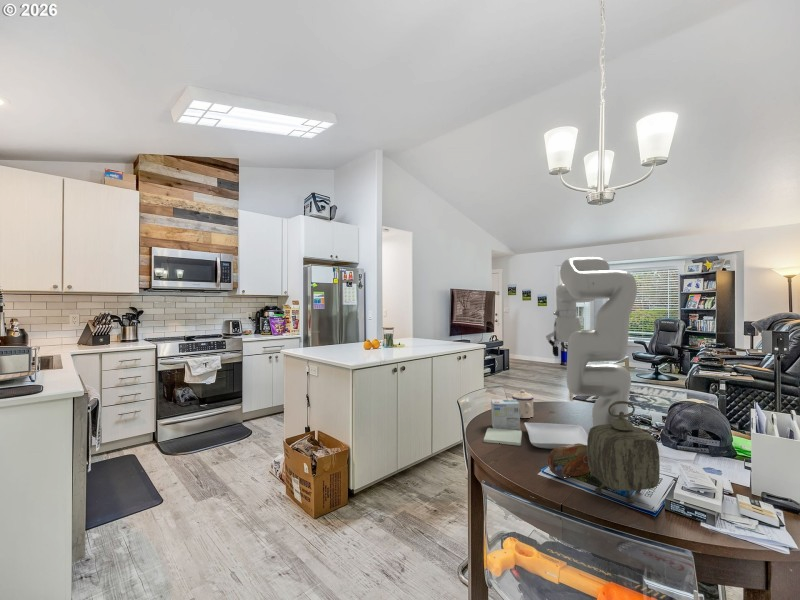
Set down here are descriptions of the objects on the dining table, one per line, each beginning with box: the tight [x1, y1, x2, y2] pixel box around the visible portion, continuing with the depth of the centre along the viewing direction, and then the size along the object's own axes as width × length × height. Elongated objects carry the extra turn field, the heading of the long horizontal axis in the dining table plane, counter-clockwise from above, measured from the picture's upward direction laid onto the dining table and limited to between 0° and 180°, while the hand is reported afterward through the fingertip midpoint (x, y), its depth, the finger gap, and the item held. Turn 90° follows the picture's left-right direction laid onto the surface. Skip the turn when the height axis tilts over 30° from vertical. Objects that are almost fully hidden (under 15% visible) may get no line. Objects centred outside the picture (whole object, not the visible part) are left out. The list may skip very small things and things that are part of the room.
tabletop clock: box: [587, 401, 661, 504], centre depth 97 cm, size 14×9×25 cm, turn 92°
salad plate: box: [523, 422, 588, 450], centre depth 137 cm, size 21×21×3 cm
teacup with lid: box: [511, 389, 534, 419], centre depth 166 cm, size 12×9×12 cm
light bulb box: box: [490, 399, 521, 431], centre depth 153 cm, size 11×7×11 cm, turn 84°
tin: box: [547, 443, 591, 479], centre depth 111 cm, size 15×3×8 cm, turn 106°
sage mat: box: [483, 427, 523, 446], centre depth 142 cm, size 13×13×1 cm
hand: (567, 355), depth 156 cm, fingers open, 9 cm apart
